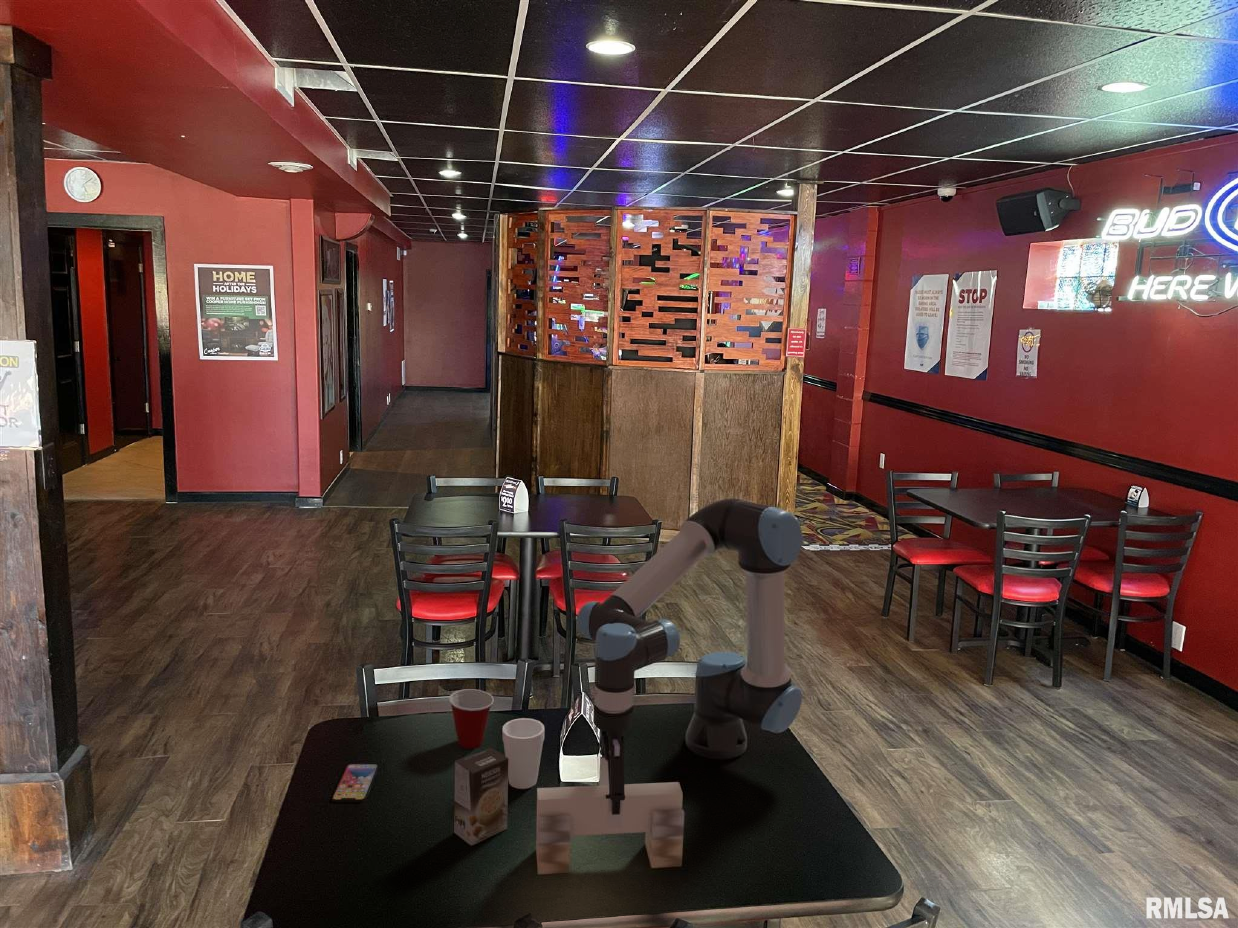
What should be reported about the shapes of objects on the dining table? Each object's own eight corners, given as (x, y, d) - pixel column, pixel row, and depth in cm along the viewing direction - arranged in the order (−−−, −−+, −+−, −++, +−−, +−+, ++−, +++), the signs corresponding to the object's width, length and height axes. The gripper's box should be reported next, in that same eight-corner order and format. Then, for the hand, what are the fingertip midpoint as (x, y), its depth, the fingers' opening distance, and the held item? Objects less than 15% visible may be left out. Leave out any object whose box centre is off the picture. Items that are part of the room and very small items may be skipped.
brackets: (674, 842, 181) (676, 790, 179) (681, 865, 174) (684, 812, 171) (536, 849, 177) (537, 796, 175) (537, 874, 170) (538, 819, 168)
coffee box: (471, 847, 177) (471, 773, 174) (453, 832, 182) (453, 760, 179) (508, 828, 184) (509, 757, 181) (490, 815, 188) (490, 745, 185)
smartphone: (379, 763, 206) (365, 799, 191) (379, 767, 206) (365, 803, 191) (347, 763, 206) (330, 799, 191) (347, 767, 206) (330, 803, 191)
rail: (676, 818, 178) (678, 781, 177) (680, 830, 174) (682, 793, 173) (536, 825, 174) (537, 788, 173) (537, 837, 170) (538, 799, 169)
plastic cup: (493, 753, 213) (494, 707, 211) (447, 755, 211) (447, 708, 209) (494, 731, 223) (494, 686, 221) (450, 732, 222) (450, 687, 220)
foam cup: (547, 771, 206) (548, 719, 203) (539, 794, 197) (540, 740, 194) (506, 768, 207) (507, 716, 204) (497, 790, 198) (497, 736, 195)
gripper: (587, 677, 181) (584, 772, 185) (601, 738, 157) (597, 846, 161) (623, 676, 182) (620, 770, 186) (643, 736, 158) (638, 844, 162)
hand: (609, 805), depth 173 cm, fingers open, 13 cm apart
